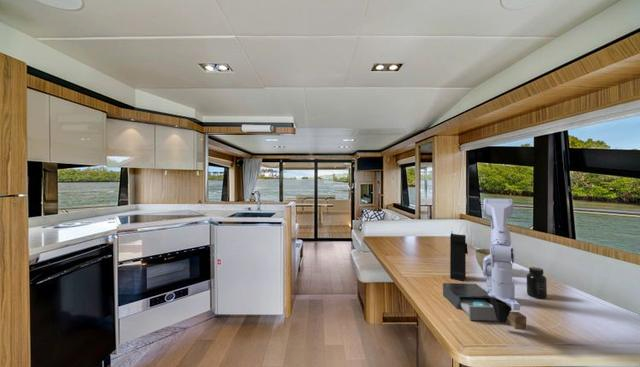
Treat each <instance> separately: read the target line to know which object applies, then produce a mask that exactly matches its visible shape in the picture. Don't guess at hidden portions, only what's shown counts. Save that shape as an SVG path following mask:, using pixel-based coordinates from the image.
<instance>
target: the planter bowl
mask: <svg viewBox="0 0 640 367" xmlns="http://www.w3.org/2000/svg"><path fill="white" fill-rule="evenodd" d="M474 253H475V259H476V262H477V265H478V266H479V267H480V269H481V271H482V272H483V259H484V257H486V256H488V255H490V248H489V249H487V248H478V249H475V250H474Z"/></svg>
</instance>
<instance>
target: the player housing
mask: <svg viewBox="0 0 640 367" xmlns="http://www.w3.org/2000/svg"><path fill="white" fill-rule="evenodd" d="M442 295H443V297H444V298H445V299H447V301H448V302H449V303H450V304H451V305H452V306H453V307H454V308H456V309H457V310H464V309H463V308H462V307H461V306H459V299H485V300H486V301H487V302H489V303H490V304H491V305H492V303H491V301H490V298H494V297H490V296H489V295H488V292H486V289H484V288H482V287H481V286H480V285H478V284H477V283H463V282H462V283H453V282H443V283H442ZM492 306H493V305H492Z"/></svg>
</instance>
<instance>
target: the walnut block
mask: <svg viewBox="0 0 640 367" xmlns="http://www.w3.org/2000/svg"><path fill="white" fill-rule="evenodd" d="M507 323H508V325H510V326H511V327H513V328H514V329H515V330H517V329H518V330H522V329H523V330H527V316H526V315H524V313H521V312H519V311H510V313H509V315H508V321H507Z"/></svg>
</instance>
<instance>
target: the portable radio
mask: <svg viewBox="0 0 640 367" xmlns="http://www.w3.org/2000/svg"><path fill="white" fill-rule="evenodd" d="M449 237H450V240H449V241H450V244H449V245H450V249H449V250H450V251H449V252H450V253H449V267H450V268H449V270H450V271H449V272H450V273H449V274H450V276H449V278H450V279H452V280H457V281H460V282H461V281H462V282H465V281H466V278H467V277H466V274H467V273H466V272H467V271H466V268H467V267H466V266H467V262H466V261H467V260H466V259H467V257H466V255H468V253H469V252H468V243H467V239H466V238H467V236H466V235H465V234H459V233H458V234H457V233H453V232H451V233H450V235H449Z"/></svg>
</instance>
